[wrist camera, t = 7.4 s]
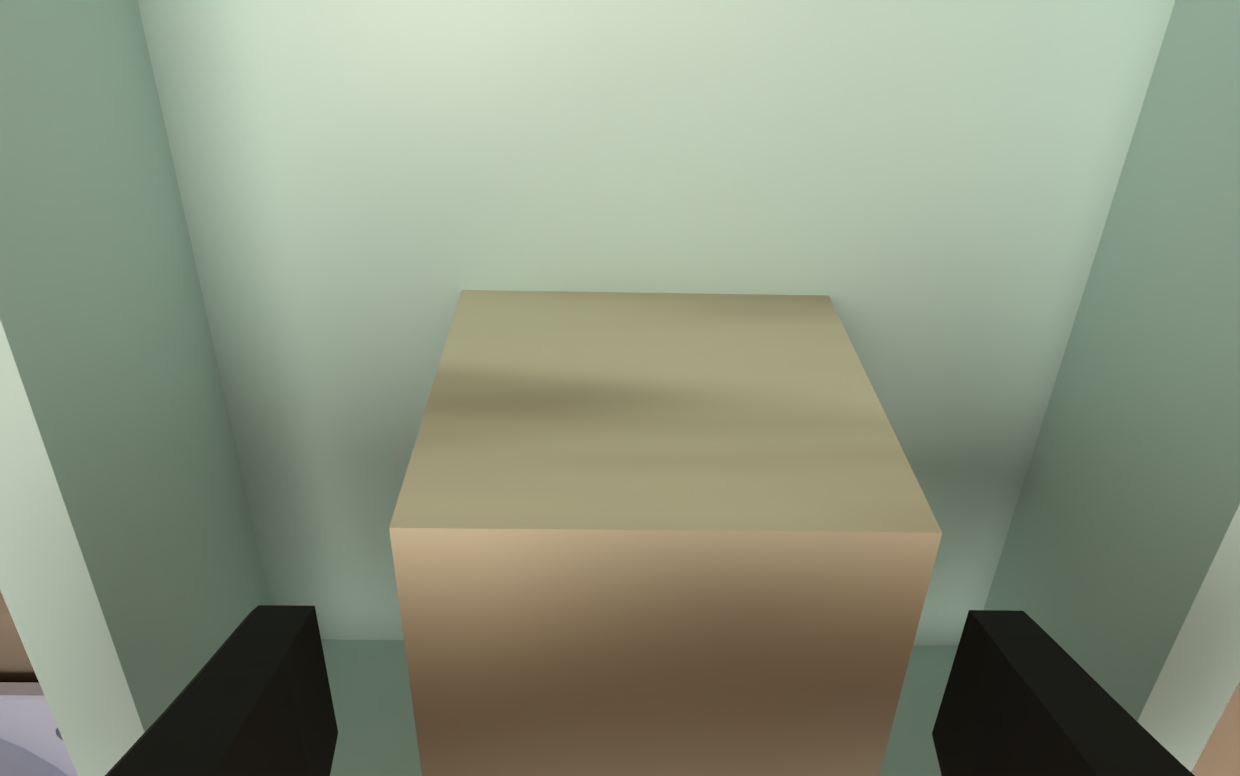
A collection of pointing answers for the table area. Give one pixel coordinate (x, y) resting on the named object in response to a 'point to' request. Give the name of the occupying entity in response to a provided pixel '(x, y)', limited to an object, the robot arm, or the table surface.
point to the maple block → (656, 541)
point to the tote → (608, 262)
